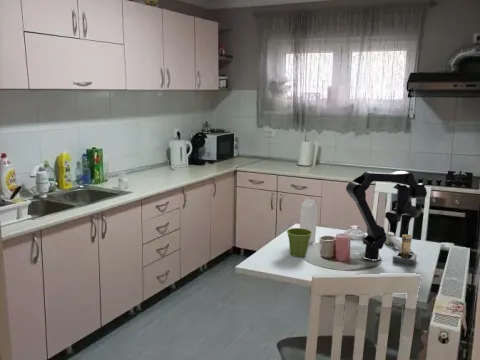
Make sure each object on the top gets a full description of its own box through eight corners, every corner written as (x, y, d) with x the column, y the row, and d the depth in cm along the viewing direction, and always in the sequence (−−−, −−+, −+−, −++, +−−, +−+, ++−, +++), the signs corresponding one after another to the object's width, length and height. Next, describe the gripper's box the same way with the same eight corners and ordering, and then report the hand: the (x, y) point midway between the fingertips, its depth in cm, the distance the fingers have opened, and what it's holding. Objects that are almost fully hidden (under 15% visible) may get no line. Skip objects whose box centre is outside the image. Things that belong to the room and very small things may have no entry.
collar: (413, 266, 211) (413, 260, 210) (392, 262, 215) (393, 256, 214) (415, 260, 219) (416, 254, 218) (396, 256, 223) (396, 250, 222)
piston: (403, 263, 214) (406, 237, 212) (397, 260, 218) (400, 234, 215) (410, 262, 216) (413, 236, 213) (404, 259, 219) (407, 233, 217)
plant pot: (291, 248, 228) (293, 226, 226) (314, 253, 223) (316, 230, 220) (280, 255, 218) (282, 232, 216) (304, 261, 213) (306, 237, 210)
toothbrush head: (406, 251, 220) (383, 228, 243) (403, 264, 222) (381, 240, 245) (416, 251, 220) (393, 228, 244) (414, 264, 222) (391, 240, 246)
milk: (308, 243, 237) (311, 201, 232) (298, 241, 241) (301, 199, 236) (315, 241, 241) (318, 199, 237) (305, 238, 245) (308, 197, 241)
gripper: (408, 204, 204) (405, 239, 207) (429, 199, 216) (426, 232, 219) (386, 199, 213) (382, 232, 215) (407, 194, 225) (404, 226, 228)
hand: (399, 231), depth 219 cm, fingers open, 9 cm apart
